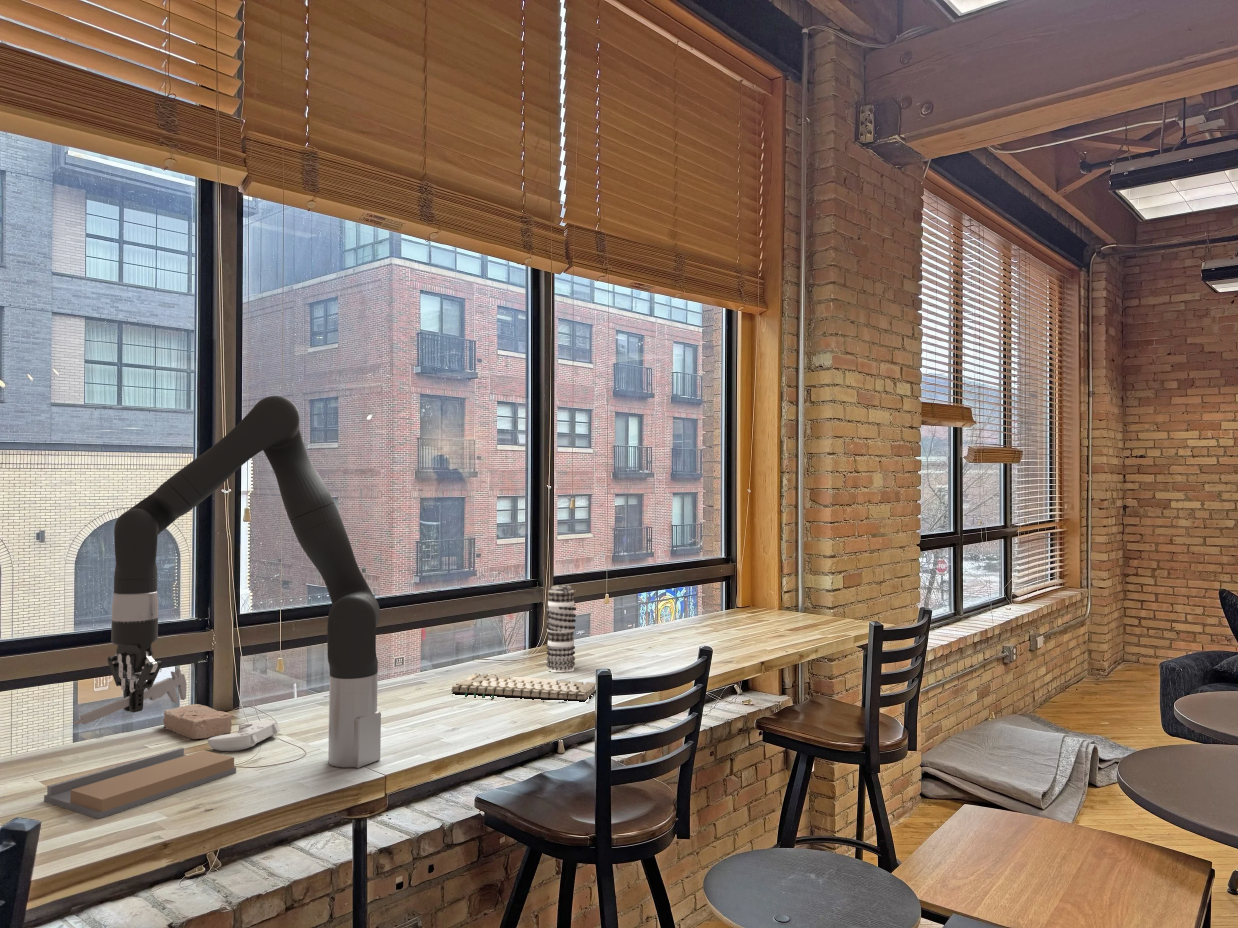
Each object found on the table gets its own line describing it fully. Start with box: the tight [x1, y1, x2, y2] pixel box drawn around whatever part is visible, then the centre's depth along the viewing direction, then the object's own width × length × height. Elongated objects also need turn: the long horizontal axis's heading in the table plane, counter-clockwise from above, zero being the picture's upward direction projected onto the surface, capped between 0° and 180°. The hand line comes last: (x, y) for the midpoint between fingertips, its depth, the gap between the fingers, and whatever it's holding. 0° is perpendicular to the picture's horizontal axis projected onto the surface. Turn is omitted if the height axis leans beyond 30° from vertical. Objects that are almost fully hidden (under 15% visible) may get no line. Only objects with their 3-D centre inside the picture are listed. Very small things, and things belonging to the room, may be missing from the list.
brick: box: [163, 703, 233, 740], centre depth 191 cm, size 16×8×5 cm, turn 51°
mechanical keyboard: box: [451, 672, 597, 702], centre depth 228 cm, size 38×19×3 cm, turn 80°
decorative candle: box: [545, 584, 577, 671], centre depth 256 cm, size 9×9×25 cm
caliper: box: [73, 668, 188, 725], centre depth 158 cm, size 21×1×6 cm, turn 152°
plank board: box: [43, 747, 237, 820], centre depth 156 cm, size 16×26×3 cm, turn 152°
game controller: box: [207, 720, 281, 752], centre depth 182 cm, size 14×4×10 cm
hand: (133, 710), depth 158 cm, fingers closed on caliper, 1 cm apart
